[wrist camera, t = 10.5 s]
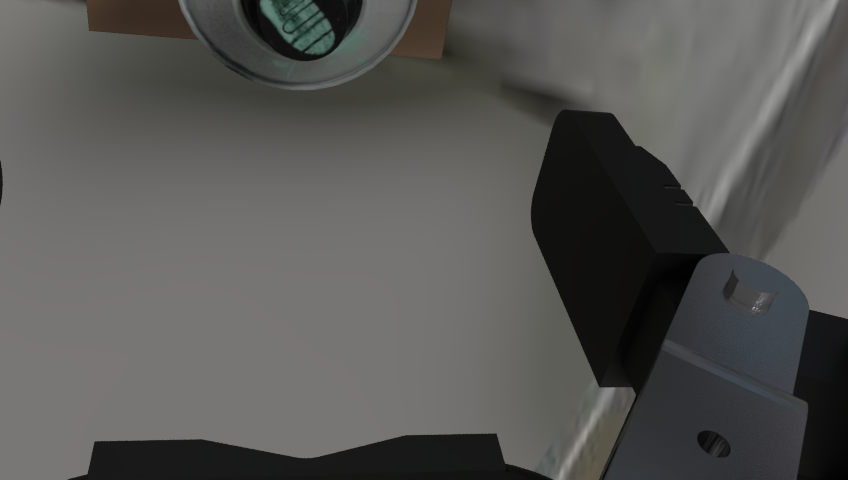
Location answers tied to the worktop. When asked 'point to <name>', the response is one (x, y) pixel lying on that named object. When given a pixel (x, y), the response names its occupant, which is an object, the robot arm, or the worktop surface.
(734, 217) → the worktop surface
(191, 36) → the socket block
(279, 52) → the spray can
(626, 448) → the robot arm
